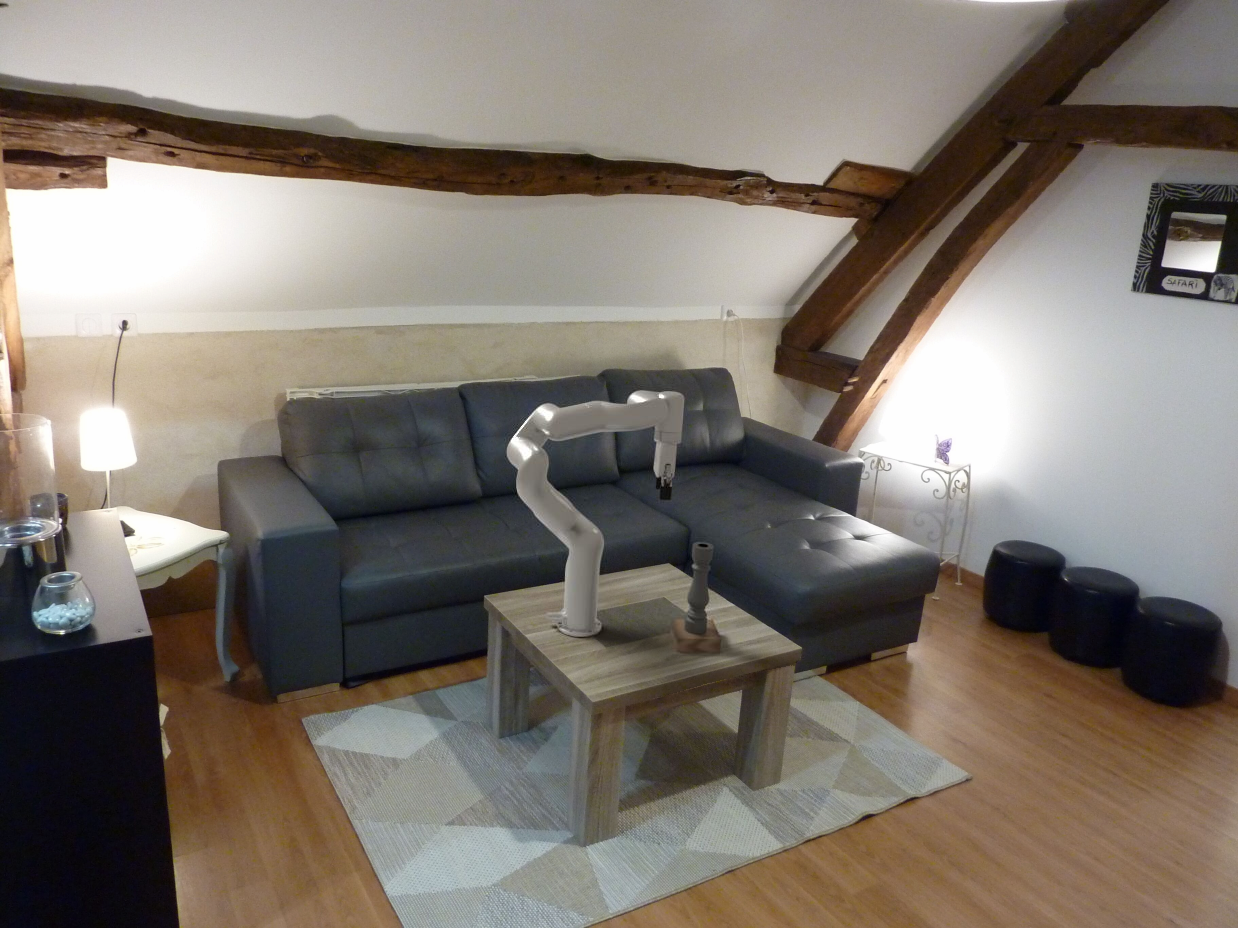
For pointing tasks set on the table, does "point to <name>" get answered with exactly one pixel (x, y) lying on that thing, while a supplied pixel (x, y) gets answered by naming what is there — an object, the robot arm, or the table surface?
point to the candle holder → (699, 589)
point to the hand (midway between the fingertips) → (662, 494)
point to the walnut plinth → (695, 638)
